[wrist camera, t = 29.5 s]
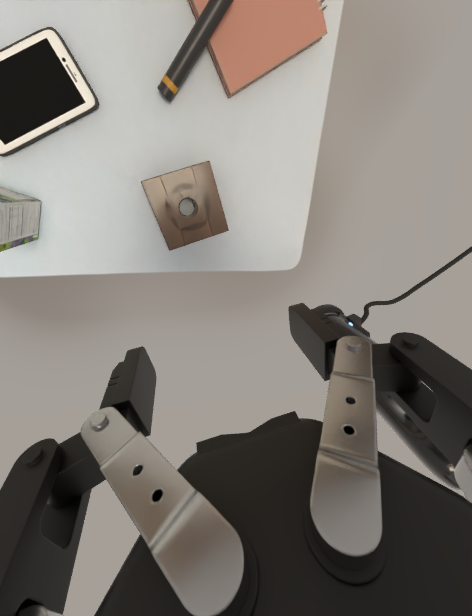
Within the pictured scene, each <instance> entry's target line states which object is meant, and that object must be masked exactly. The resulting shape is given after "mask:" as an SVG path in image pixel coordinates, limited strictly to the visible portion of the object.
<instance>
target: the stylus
mask: <svg viewBox="0 0 472 616" xmlns="http://www.w3.org/2000/svg"><path fill="white" fill-rule="evenodd" d="M233 1H234V0H209V1H208V3H207V4H206V6H205V8H204V9H203V11H202V13H201V14H200V16H199V18H198V20H197V21H196V23H195V25H194V26H193V28H192V30H191V32H190V33H189V35H188V37H187V38H186V40H185V42H184V43H183V45H182V47H181V49H180V50H179V52H178V54H177V55H176V57H175V59H174V60H173V62H172V64H171V66H170V67H169V69H168V71H167V72H166V74H165V75H164V77H163V79H162V81H161V83H160V84H159V86H158V89H159V90H160V91H161V92H162V93H163V95H164V96H165V97H166V98H167V99H168V100H169V101H170V102H171V100H172V99H173V97H174V95H175V94H176V93H177V91H178V89H179V87H180V86H181V84H182V83H183V81H184V79H185V78H186V76H187V75H188V73H189V71H190V70H191V68H192V67H193V65H194V63H195V62H196V60H197V58H198V57H199V55H200V54H201V52H202V50H203V49H204V47H205V46H206V44H207V42H208V41H209V39H210V38H211V36H212V34H213V33H214V31H215V30H216V28H217V26H218V25H219V23H220V22H221V20H222V18H223V17H224V15H225V14H226V12H227V10H228V9H229V7H230V5H231V4H232V2H233Z"/></svg>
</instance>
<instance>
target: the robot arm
mask: <svg viewBox="0 0 472 616" xmlns="http://www.w3.org/2000/svg"><path fill="white" fill-rule="evenodd" d="M471 252H472V247H470V248H469V249H468V250H466V251H465V252H463V253H462V254H461V255H459V256H458V257H456V258H455V259H454V260H452V261H451V262H449V263H448V264H447V265H445V266H444V267H442V268H441V269H439V270H438V271H436V272H435V273H434V274H432V275H431V276H429V277H428V278H426V279H425V280H423V281H422V282H420V283H419V284H417V285H416V286H414V287H413V288H412V289H410V290H409V291H408V292H406V293H404V294H403V295H401V296H399V297H397V298H395V299H393V300H390V301H374V302H370V303H368V304H366V305H365V307H364V315H363V317H362V318H360V317H358V316H357V315H355V314H352V315H349V316H347V317H346V316H345V315H343V314H342V313H340V312H338V313H334V312H321V311H318V310H316V309H311V310H310V309H309V308H308V307H307V306H306V305H305V304H303V303H300V304H296V305H293V306H289V321H290V331H291V335H292V337H293V339H294V341H295V342H296V343H297V344H298V346H299V347H300V349H301V350H302V351H303V353H304V354H305V355H306V357H307V358H308V359H309V361H310V362H311V363H312V364H313V366H314V367H315V369H316V370H317V371H318V373H319V374H320V375H321V376H322V378H323V379H324V381H327V380H330V382H329V388H328V395H327V401H326V408H325V414H324V420H323V422H321V421H317V420H313V419H303V418H302V419H299V418H298V416H297V414H296V412H295V411H294V412H290V413H287V414H284V415H281V416H278V417H275V418H272V419H270V420H268V421H267V422H265V423H264V424H262V425H260V426H259V427H257V428H256V429H254V430H253V431H251V432H249V433H240V434H227V435H220V436H217V437H213V438H210V439H207V440H204V441H201V442H198V443H196V444H197V452H196V453H195V454H193V455H192V456H191V457H189V458H188V459H187V460H186V461H185V462H184V463H183V464H182V465H181V466H180V468H178V470H176V469H175V468H174V467H173V466H172V465H171V464H170V463H169V461H168V460H167V459H166V458H165V457H164V456H163V455H162V454H161V453H160V452H159V451H158V450H157V449H156V448H155V447H154V446H153V444H152V443H151V442H150V441H149V440H148V439H147V438H146V436H149V435H150V433H151V423H152V414H153V405H154V395H155V387H156V373H155V369H154V367H153V365H152V363H151V360H150V358H149V356H148V354H147V352H146V350H145V348H144V347H139V348H135V349H131V350H128V351H127V353H126V356H125V360H124V362H120V363H119V364H118V365H117V366H116V367H115V369H114V370H113V372H112V374H111V378H110V380H109V383H108V387H107V389H106V392H105V395H104V398H103V400H102V403H101V406H100V409H99V410H98V411H96V412H95V413H93V414H92V415H91V416H90V417H89V418H88V419H87V420H86V421H85V422H84V424H83V426H82V428H81V432H80V433H78V434H76V435H74V436H73V437H71V438H69V439H67V440H65V441H64V442H62V443H60V444H58V443H57V442H56V441H55V440H54V439H44V440H41V441H39V442H37V443H35V444H34V445H32V446H31V447H29V448H28V449H27V450H26V451H25V452H24V453H22V455H21V456H20V457H19V458H18V459H17V461H16V462H15V464H14V465H13V467H12V469H11V471H10V473H9V475H8V477H7V478H6V481H5V482H4V484H3V486H2V488H1V490H0V616H64V615H63V611H64V607H65V602H66V598H67V593H68V589H69V585H70V580H71V576H72V572H73V567H74V563H75V559H76V554H77V550H78V545H79V541H80V537H81V533H82V528H83V524H84V520H85V515H86V511H87V506H88V502H89V498H90V493H91V489H92V488H93V487H95V486H96V485H98V484H99V483H101V482H102V481H104V480H106V479H107V481H108V483H109V484H110V486H111V488H112V489H113V491H114V492H115V494H116V496H117V497H118V499H119V500H120V502H121V504H122V505H123V507H124V508H125V510H126V511H127V513H128V515H129V516H130V518H131V519H132V521H133V523H134V524H135V526H136V527H137V529H138V530H139V532H140V535H139V537H138V539H137V541H136V543H135V544H134V546H133V548H132V550H131V552H130V553H129V555H128V557H127V558H126V560H125V562H124V564H123V566H122V567H121V569H120V571H119V573H118V574H117V576H116V578H115V580H114V582H113V583H112V585H111V587H110V589H109V590H108V592H107V594H106V596H105V597H104V599H103V601H102V603H101V605H100V607H99V608H98V610H97V612H96V614H95V615H94V616H472V370H471V369H470V368H468V367H467V366H465V365H464V364H462V363H461V362H459V361H458V360H457V359H455V358H453V357H452V356H451V355H449V354H448V353H446V352H445V351H443V350H442V349H440V348H439V347H437V346H436V345H435V344H433V343H432V342H430V341H429V340H427V339H426V338H424V337H422V336H420V335H417V334H414V333H406V332H403V333H397V334H395V335H393V336H392V338H391V340H390V343H387V344H378V343H376V342H375V341H373V340H372V339H371V338H370V333H369V332H368V331H367V330H365V329H364V328H362V327H361V324H362V323H363V322H364V321H365V320H366V319H367V317H368V315H369V310H368V309H369V307H371V306H374V305H388V304H394V303H396V302H398V301H400V300H402V299H404V298H406V297H407V296H409V295H410V294H411V293H413V292H414V291H416V290H417V289H418V288H420V287H421V286H423V285H425V284H426V283H428V282H429V281H431V280H432V279H434V278H435V277H437V276H438V275H439V274H441V273H442V272H444V271H445V270H447V269H448V268H449V267H451V266H452V265H454V264H455V263H456V262H458V261H459V260H461V259H462V258H463V257H465V256H466V255H468V254H469V253H471ZM421 381H422V382H424V383H425V384H426V385H427V386H428V387H429V388H430V389H431V390H432V391H433V392H432V391H431V390H430V389H429V388H428V387H426V385H424V384H423V383H422V382H421ZM376 412H377V413H378V414H379V415H380V416H381V417H382V418H383V419H384V421H385V422H386V423H387V424H388V425H389V426H390V427H391V428H392V430H393V431H394V432H395V433H396V434H397V435H398V436H399V438H400V439H401V440H402V441H403V442H404V443H405V444H406V446H407V447H408V448H409V449H410V450H411V451H412V452H413V454H414V455H415V456H416V457H417V458H418V459H419V460H420V461H421V462H422V463H423V465H424V466H425V467H426V468H427V469H429V470H430V471H431V472H432V473H433V474H434V475H435V476H436V477H437V478H438V479H440V480H441V481H442V482H443V483H445V484H446V485H448V486H450V487H451V488H454V489H457V490H462V491H463V492H464V494H465V497H466V499H465V498H464V497H463V496H461V495H459V494H458V493H456V492H454V491H452V490H450V489H448V488H447V487H445V486H443V485H441V484H439V483H437V482H435V481H433V480H432V479H430V478H428V477H426V476H424V475H422V474H420V473H419V472H417V471H415V470H413V469H411V468H409V467H407V466H405V465H404V464H402V463H400V462H398V461H396V460H394V459H392V458H390V457H389V456H387V455H385V454H383V453H381V452H379V451H378V449H377V421H376Z"/></svg>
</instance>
